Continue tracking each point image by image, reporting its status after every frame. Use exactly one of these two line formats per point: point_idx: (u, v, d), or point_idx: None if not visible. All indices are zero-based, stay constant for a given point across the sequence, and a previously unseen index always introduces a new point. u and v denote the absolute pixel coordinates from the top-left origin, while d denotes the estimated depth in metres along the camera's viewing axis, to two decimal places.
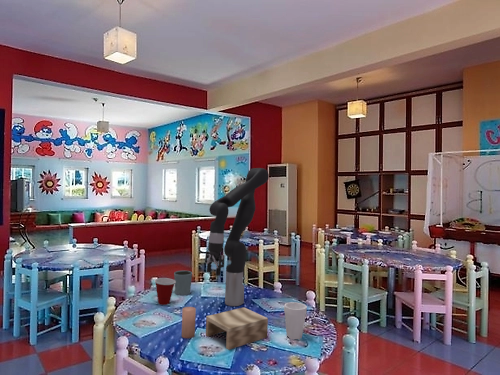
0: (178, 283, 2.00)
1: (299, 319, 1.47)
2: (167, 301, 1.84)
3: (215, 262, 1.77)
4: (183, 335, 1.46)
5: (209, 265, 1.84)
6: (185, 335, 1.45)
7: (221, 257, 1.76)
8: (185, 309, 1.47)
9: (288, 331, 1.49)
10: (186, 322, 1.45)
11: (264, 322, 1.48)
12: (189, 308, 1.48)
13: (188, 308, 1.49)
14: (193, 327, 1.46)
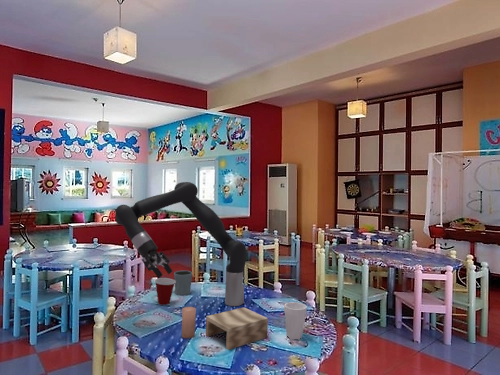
0: (178, 283, 2.00)
1: (299, 319, 1.47)
2: (167, 301, 1.84)
3: None
4: (183, 335, 1.46)
5: (165, 266, 1.56)
6: (185, 335, 1.45)
7: (143, 260, 1.47)
8: (185, 309, 1.47)
9: (288, 331, 1.49)
10: (186, 322, 1.45)
11: (264, 322, 1.48)
12: (189, 308, 1.48)
13: (188, 308, 1.49)
14: (193, 327, 1.46)
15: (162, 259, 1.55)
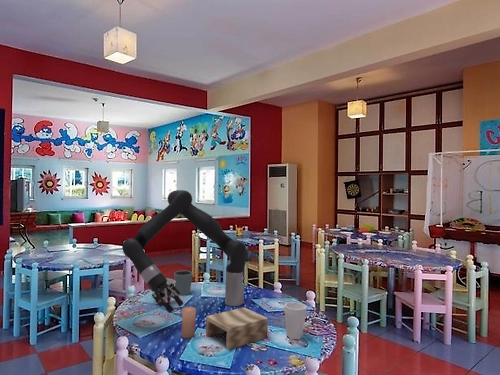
0: (178, 283, 2.00)
1: (299, 319, 1.47)
2: None
3: None
4: (183, 335, 1.46)
5: (176, 299, 1.54)
6: (185, 335, 1.45)
7: (153, 295, 1.45)
8: (185, 309, 1.47)
9: (288, 331, 1.49)
10: (186, 322, 1.45)
11: (264, 322, 1.48)
12: (189, 308, 1.48)
13: (188, 308, 1.49)
14: (193, 327, 1.46)
15: (172, 292, 1.53)
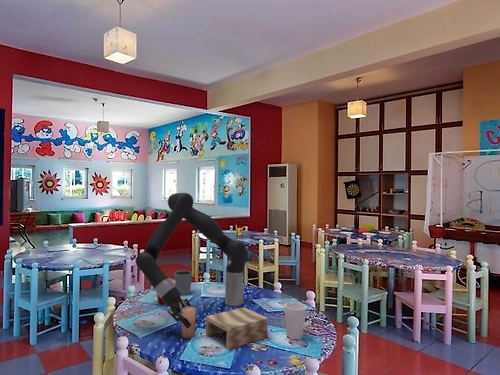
0: (178, 283, 2.00)
1: (299, 319, 1.47)
2: None
3: (176, 316, 1.46)
4: (183, 335, 1.46)
5: None
6: (185, 335, 1.45)
7: (170, 312, 1.43)
8: (185, 309, 1.47)
9: (288, 331, 1.49)
10: None
11: (264, 322, 1.48)
12: (189, 308, 1.48)
13: (188, 308, 1.49)
14: (193, 327, 1.46)
15: None
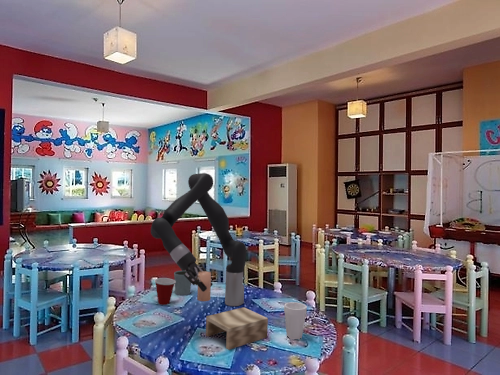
0: (178, 283, 2.00)
1: (299, 319, 1.47)
2: (167, 301, 1.84)
3: (192, 280, 1.48)
4: (199, 298, 1.47)
5: None
6: (201, 299, 1.47)
7: (186, 275, 1.44)
8: (200, 273, 1.48)
9: (288, 331, 1.49)
10: None
11: (264, 322, 1.48)
12: (204, 272, 1.50)
13: (203, 272, 1.50)
14: (208, 290, 1.48)
15: None
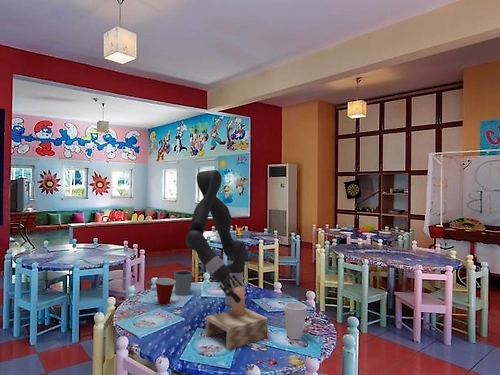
0: (178, 283, 2.00)
1: (299, 319, 1.47)
2: (167, 301, 1.84)
3: (226, 291, 1.50)
4: (234, 313, 1.50)
5: None
6: (236, 314, 1.50)
7: (221, 286, 1.47)
8: (235, 288, 1.51)
9: (288, 331, 1.49)
10: None
11: (264, 322, 1.48)
12: (238, 287, 1.53)
13: (237, 287, 1.53)
14: (243, 305, 1.51)
15: (236, 283, 1.55)
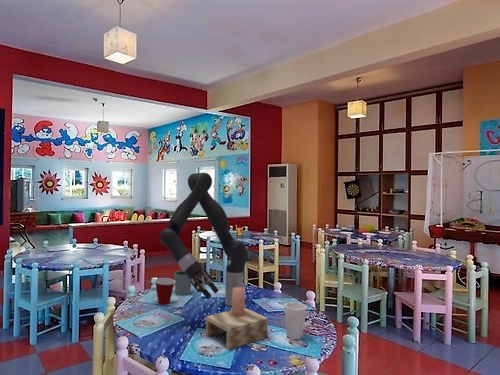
0: (178, 283, 2.00)
1: (299, 319, 1.47)
2: (167, 301, 1.84)
3: (198, 287, 1.54)
4: (234, 313, 1.50)
5: (211, 286, 1.60)
6: (236, 314, 1.50)
7: (192, 282, 1.51)
8: (235, 289, 1.51)
9: (288, 331, 1.49)
10: (237, 301, 1.50)
11: (264, 322, 1.48)
12: (239, 288, 1.53)
13: (238, 287, 1.53)
14: (243, 306, 1.51)
15: (208, 279, 1.59)
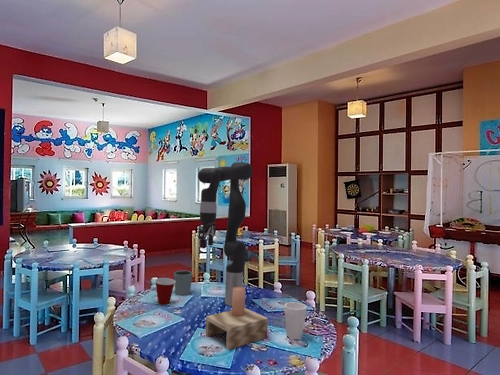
0: (178, 283, 2.00)
1: (299, 319, 1.47)
2: (167, 301, 1.84)
3: (200, 233, 1.61)
4: (234, 313, 1.50)
5: (210, 238, 1.68)
6: (236, 314, 1.50)
7: (200, 227, 1.58)
8: (235, 289, 1.51)
9: (288, 331, 1.49)
10: (237, 301, 1.50)
11: (264, 322, 1.48)
12: (239, 288, 1.53)
13: (238, 287, 1.53)
14: (243, 306, 1.51)
15: (212, 232, 1.66)
